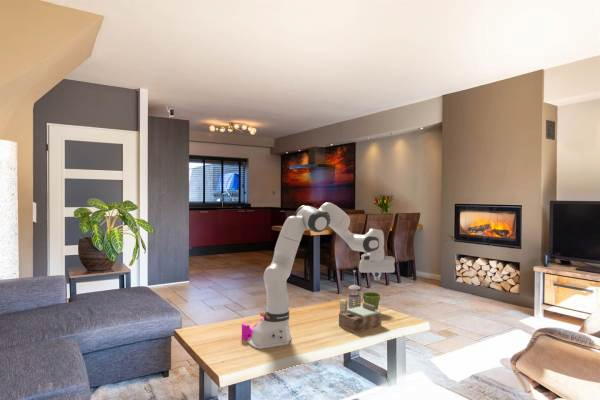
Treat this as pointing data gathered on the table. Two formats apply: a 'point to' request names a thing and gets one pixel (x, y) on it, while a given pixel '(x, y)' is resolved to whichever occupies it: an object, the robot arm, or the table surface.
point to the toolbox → (358, 321)
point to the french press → (354, 296)
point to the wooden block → (343, 305)
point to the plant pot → (371, 298)
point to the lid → (364, 310)
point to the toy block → (247, 330)
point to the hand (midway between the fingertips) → (376, 280)
